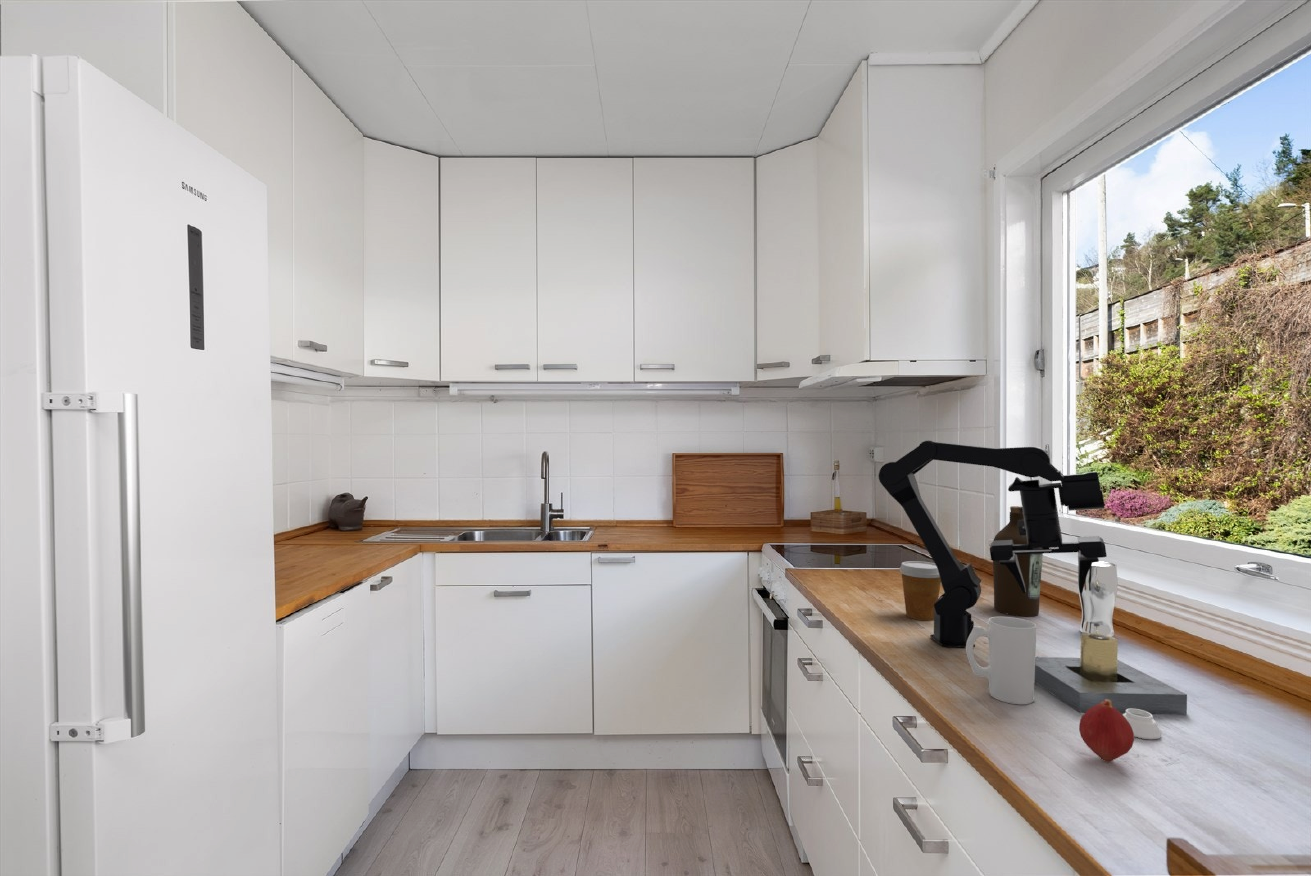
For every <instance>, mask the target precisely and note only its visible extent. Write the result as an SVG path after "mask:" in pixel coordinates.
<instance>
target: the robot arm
mask: <svg viewBox="0 0 1311 876" xmlns="http://www.w3.org/2000/svg"><path fill="white" fill-rule="evenodd" d="M932 461H942V462H950V463H951V462H952V463H959V464H966V465H967V464H968V465H975V466H976V465H977V466H985V467H992V468H996V469H1000V470H1003V471H1007V472H1009V473H1012V474H1016V475H1019V476H1023V477H1026V478H1038V477H1040V478H1042V479H1044V480H1046V481H1049V482H1050V483H1040V480H1039V479H1032V480H1031V479H1030V480H1022V479H1020V478H1019V477H1018V476H1016V477H1015V478H1014V481H1013V482H1012V483H1011V484H1010V485H1008V489H1007V490H1008V492H1019V495H1020V501H1021V502H1020V503H1021V507H1022V509H1023V516H1024V520H1018V530H1019V535H1020V537H1027V543H1028V544H1016V545H1013V540H996V541H993V540H992V542H991V543H990V545H989V553H990V554H989V555H990V560H991V561H992V562H993V561H999V564H1000V565H1006V567H1007V568H1008V569H1009V571H1010V572H1011V573H1012V575H1013V576H1014V578H1015V579H1016V581H1017V583H1018V585H1019V587H1020V588H1021V590H1022V592H1023V594H1026V589H1025V584H1024V580H1023V577H1022V573H1021V570H1020V566H1019V563H1018V558H1017V554H1041V553H1043V554H1063V553H1064V554H1065V553H1069V554H1070V553H1071V554H1072V553H1077V561H1078V563H1077V564H1078V565H1077V571H1078V572H1077V576H1078V577H1077V578H1078V579H1077V584H1078V585H1077V587H1078V586H1079V589H1078V593H1079V592H1080V594H1082V592H1083V588H1084V584H1085V581H1086V577H1087V574H1088V571H1089V569H1090V567H1091V565H1092V563H1093V562H1099V561H1100V559H1101V558H1106V557H1107V550H1106V544H1105V542H1104V539H1103V538H1102V537H1101V536H1099V535H1094V536H1093V535H1092V536H1091V535H1090V536H1089V535H1087V536H1077V541H1073V542H1072V541H1071V542H1067V541H1066V542H1063V535H1062V529H1061V525H1060V518H1059V512H1058V504H1057V498H1056V492H1055V491H1056V489H1058V495H1059V500H1060V501H1059V502H1060V506H1061V507H1062V506H1064V507H1067V508H1068V511H1070V512H1071V511H1072V512H1073V511H1084V510H1085V511H1086V510H1088V511H1089V510H1103V509H1105V501H1104V494H1103V489H1102V488H1101V484H1100V483H1101V482H1100V478H1099V473H1098V472H1097V471H1088V472H1086V473H1084V472H1083V473H1077V474H1075V473H1074V474H1063V473H1062V472H1061V471H1062V470H1059V469H1057V468H1056V467H1055V466H1054V465H1053V464H1052V463H1051V457H1050V455H1049V453H1048V452H1047V451H1046V450H1045V449H1043V448H1042V447H1039V446H1021V447H1020V446H1019V447H1018V446H1017V447H1016V446H1015V447H1001V448H998V447H997V448H995V447H985V446H976V445H968V444H967V445H966V444H957V443H956V444H955V443H946V442H939V441H936V440H924V441H921V443H920V444H918V446H916V447H915V448H914V449H913V450H911V451H909V452H908V453H906V454H905V455H904V456H902V457H900V458H899V459H898V460H897V461H890V462H887V463H885V464H884V465H882V466H881V467H880V469H879V472H878V476H877V477H878V480H879V482H880V485H882V488H884V489H885V490H886V492H888V494H889V495H890V496H891V497H892V498H893V499H894V500H895V501H896V502H897V503H898V504H899V505H900V506H901V507H902V509H903V511H904V512H905V514H906V515H907V517H908V520H910V521H909V522H911V524H912V526H913V528H914V529H915V532H916V533H917V535H918V536H919V538H920V540H921V542H922V543H923V545H924V547H925V549H926V551H927V552H928V554H929V555H930V557H931V559H932V561H933V563H935V564H936V566H937V568H938V572H939V576H940V580H941V584H940V585H941V587H942V590H943V591H944V593H943V594H941V595H939V598H938V600H937V601H936V602H935V604H934V608H935V609H934V620H933V634H930V639H932V640H933V641H935V642H936V643H937V644H938V645H940V646H942V647H946V648H948V647H949V648H955V647H956V648H966V643H967V640H968V637H969V635H970V633H971V632H972V630H973V626H974V625H975V622H974V620H973V619H972V613H970V612H969V611H967V610H968V609H971V608H973V607H974V606H975V605H976V604H977V602H978V601H979V598H980V597H981V594H982V585H981V583H982V579H981V578H980V577H979V576H978V575H977V574H976V572H975V569H974V567H973V565H972V563H971V562H969V563H968V564H965V565H964V564H963V563H962V562H961V561H960V560H959V558H957V557H956V555H955V553H954V552H953V550H952V548H951V546H950V545H949V543H948V541H947V539H946V538H945V536H944V534H943V533H942V531H941V529H940V527H939V526H938V524H937V522H936V521H935V519H934V518H933V516H932V514H931V512H930V511H929V509H928V507H927V505H926V504H925V502H924V500H923V498H922V497H921V491H920V489H919V484H918V481H917V479H916V476H915V475H916V474H917V473H919V471H921V470H923V468H925V467H926V466H927V465H928V464H930V463H931V462H932ZM1052 482H1053V483H1052ZM1054 482H1055V483H1054ZM1033 548H1042V549H1033ZM1099 558H1100V559H1099ZM975 647H976V644H975V643H974V645H973V648H975Z"/></svg>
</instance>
